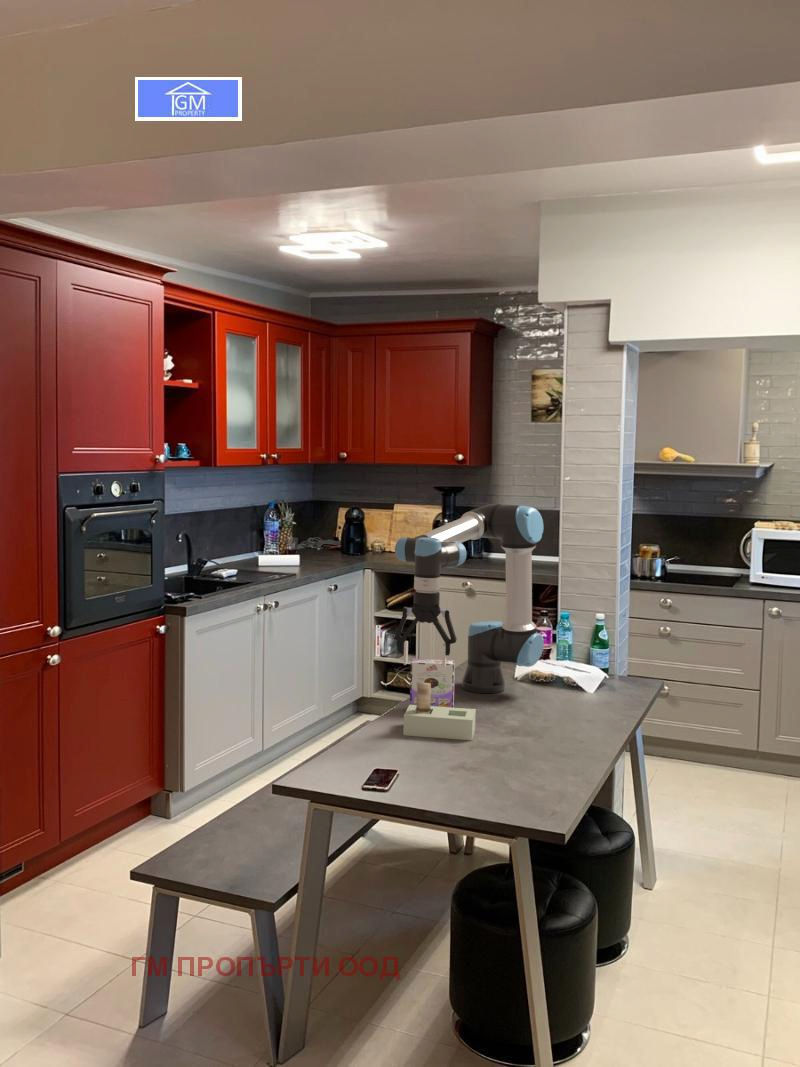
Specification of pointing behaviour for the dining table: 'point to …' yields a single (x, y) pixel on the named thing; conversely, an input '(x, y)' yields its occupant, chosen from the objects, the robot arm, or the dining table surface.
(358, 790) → the dining table surface
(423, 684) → the dowel
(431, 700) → the candy box
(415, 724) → the pale green holed block
